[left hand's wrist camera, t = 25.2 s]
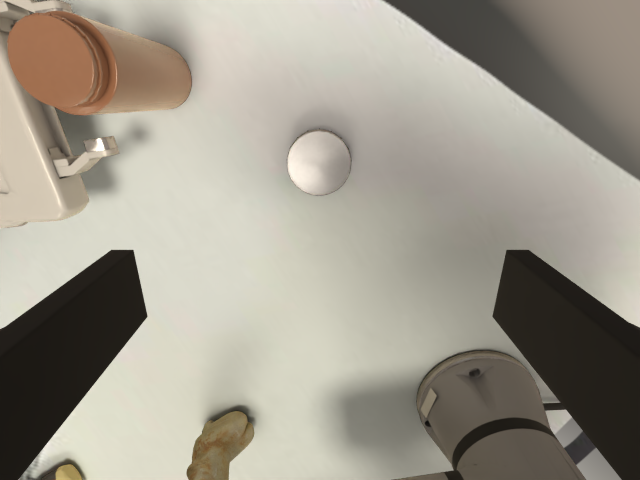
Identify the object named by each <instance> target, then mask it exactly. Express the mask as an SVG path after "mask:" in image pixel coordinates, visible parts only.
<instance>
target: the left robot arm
mask: <svg viewBox="0 0 640 480" xmlns="http://www.w3.org/2000/svg"><path fill="white" fill-rule="evenodd" d="M146 318H147V312H146V307H145V303H144V298H143V293H142V289H141V284H140V279H139V274H138V270H137V265H136V260H135V256H134V251H133V250H111V251H109V252H108V253H107V254H105V255H104V256H103V257H101V258H100V259H98V260H97V261H96V262H94V263H93V264H92V265H90V266H89V267H87V268H86V269H85V270H83V271H82V272H80V273H79V274H78V275H76V276H75V277H74V278H72V279H71V280H69V281H68V282H67V283H65V284H64V285H63V286H61V287H60V288H58V289H57V290H56V291H54V292H53V293H51V294H50V295H49V296H47V297H46V298H45V299H43V300H42V301H40V302H39V303H38V304H36V305H35V306H34V307H32V308H31V309H29V310H28V311H27V312H25V313H24V314H22V315H21V316H20V317H18V318H17V319H16V320H14V321H13V322H11V323H10V324H9V325H7V326H6V327H4V328H2V329H0V480H18V479H19V478H20V477H21V475H22V474H23V473H24V472H25V470H26V469H27V468H28V467H29V465H30V464H31V463H32V462H33V460H34V459H35V458H36V456H37V455H38V454H39V453H40V451H41V450H42V449H43V448H44V446H45V445H46V444H47V443H48V441H49V440H50V439H51V438H52V436H53V435H54V434H55V433H56V431H57V430H58V429H59V427H60V426H61V425H62V424H63V422H64V421H65V420H66V419H67V417H68V416H69V415H70V414H71V412H72V411H73V410H74V409H75V407H76V406H77V405H78V404H79V402H80V401H81V400H82V398H83V397H84V396H85V395H86V393H87V392H88V391H89V390H90V388H91V387H92V386H93V385H94V383H95V382H96V381H97V380H98V378H99V377H100V376H101V375H102V373H103V372H104V371H105V369H106V368H107V367H108V366H109V364H110V363H111V362H112V361H113V359H114V358H115V357H116V356H117V354H118V353H119V352H120V351H121V349H122V348H123V347H124V346H125V344H126V343H127V342H128V340H129V339H130V338H131V337H132V335H133V334H134V333H135V332H136V330H137V329H138V328H139V327H140V325H141V324H142V323H143V322H144V320H145V319H146ZM493 318H494V319H495V320H496V322H497V323H498V324H499V325H500V327H501V328H502V329H503V330H504V332H505V333H506V334H507V335H508V337H509V338H510V339H511V340H512V342H513V343H514V344H515V346H516V347H517V348H518V349H519V351H520V352H521V353H522V354H523V356H524V357H525V358H526V359H527V361H528V362H529V363H530V364H531V366H532V367H533V368H534V369H535V371H536V372H537V373H538V375H539V376H540V377H541V378H542V380H543V381H544V382H545V383H546V385H547V386H548V387H549V388H550V390H551V391H552V392H553V393H554V395H555V396H556V397H557V398H558V400H559V401H560V402H561V403H542V400H541V397H540V392H539V389H538V387H537V385H536V383H535V381H534V379H533V378H532V376H531V375H530V373H529V372H528V371H527V369H526V368H525V367H524V366H523V365H522V364H521V363H520V362H519V361H517V360H516V359H514V358H513V357H511V356H508V355H506V354H503V353H499V352H494V351H473V352H467V353H463V354H460V355H457V356H454V357H452V358H449V359H447V360H446V361H444V362H442V363H441V364H439V365H438V366H436V367H435V368H434V369H433V370H432V371H431V372H430V373H429V374H428V375H427V376H426V377H425V379H424V380H423V382H422V383H421V385H420V388H419V390H418V394H417V409H418V412H419V415H420V418H421V421H422V423H423V425H424V427H425V429H426V431H427V432H428V434H429V435H430V436H431V438H432V439H433V440H434V442H435V443H436V444H437V446H438V447H439V448H440V450H441V451H442V452H443V454H444V455H445V456H446V458H447V459H448V460H449V462H450V463H451V464H452V467H453V469H454V471H448V472H440V473H435V474H428V475H421V476H414V477H407V478H400V479H393V480H586V479H585V477H584V476H583V475H582V473H581V472H580V470H579V469H578V468H577V466H576V465H575V463H574V462H573V461H572V459H571V458H570V456H569V455H568V454H567V452H566V451H565V449H564V448H563V447H562V445H561V444H560V442H559V441H558V440H557V438H556V437H555V435H554V434H553V432H552V431H551V429H550V426H549V423H548V419H547V416H546V413H545V410H564V409H566V410H567V411H568V412H569V414H570V415H571V416H572V417H573V419H574V420H575V421H576V422H577V424H578V425H579V426H580V427H581V429H582V430H583V431H584V433H585V434H586V435H587V436H588V438H589V439H590V440H591V441H592V443H593V444H594V445H595V446H596V448H597V449H598V450H599V451H600V453H601V454H602V455H603V456H604V458H605V459H606V460H607V462H608V463H609V464H610V465H611V467H612V468H613V469H614V470H615V472H616V473H617V474H618V475H619V477H620V478H621V479H622V480H640V328H639V327H637V326H635V325H633V324H631V323H629V322H627V321H626V320H624V319H623V318H622V317H620V316H619V315H618V314H616V313H615V312H613V311H612V310H611V309H609V308H608V307H606V306H605V305H604V304H602V303H601V302H600V301H598V300H597V299H595V298H594V297H593V296H591V295H590V294H589V293H587V292H586V291H584V290H583V289H582V288H580V287H579V286H577V285H576V284H575V283H573V282H572V281H571V280H569V279H568V278H566V277H565V276H564V275H562V274H561V273H560V272H558V271H557V270H555V269H554V268H553V267H551V266H550V265H548V264H547V263H546V262H544V261H543V260H542V259H540V258H539V257H537V256H536V255H535V254H533V253H532V252H531V251H529V250H507V251H506V256H505V260H504V265H503V270H502V274H501V279H500V284H499V289H498V293H497V298H496V303H495V307H494V312H493Z"/></svg>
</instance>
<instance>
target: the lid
mask: <svg viewBox="0 0 640 480" xmlns="http://www.w3.org/2000/svg"><path fill="white" fill-rule="evenodd" d="M348 150H349V149H348V147H346V145H345V143H344V142H343V140H342V138H340V137H338V136H337V135H336V134H334V133H332V131H327V130H321V129H319V130H311V131H307V132H306V133H304V134H302V135H301V136H300V137H297V140H296V141H295V142H294V143H293V145H292V147H290V151H289V154H288V158H287V168H288V173H289V175H290V178H291V179H292V181H293V183H294V184H295V185H296V186H297V187H298V188H299V189H301V190H302V191H304V192H306V193H308V194H312V195H327V194H330V193H332V192H334V191H336V190H338V189H339V188H340V187H341V186H342V185H343V184H344V183H345V181H346V180H347V178H348V176H349V173H350V169H351V157H350V153H349V151H348Z"/></svg>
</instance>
